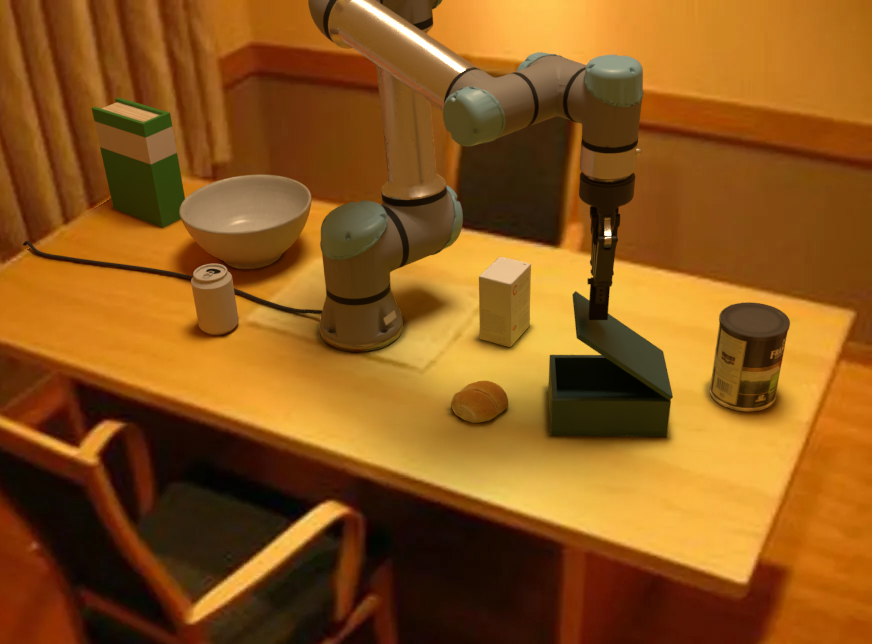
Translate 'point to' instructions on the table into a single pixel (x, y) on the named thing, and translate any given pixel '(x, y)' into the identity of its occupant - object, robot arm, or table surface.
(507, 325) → the small box
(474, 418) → the bread roll
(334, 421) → the table surface
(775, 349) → the coffee can
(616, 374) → the box
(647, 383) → the lunchbox lid
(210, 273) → the can
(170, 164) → the hardback book
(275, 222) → the decorative bowl
